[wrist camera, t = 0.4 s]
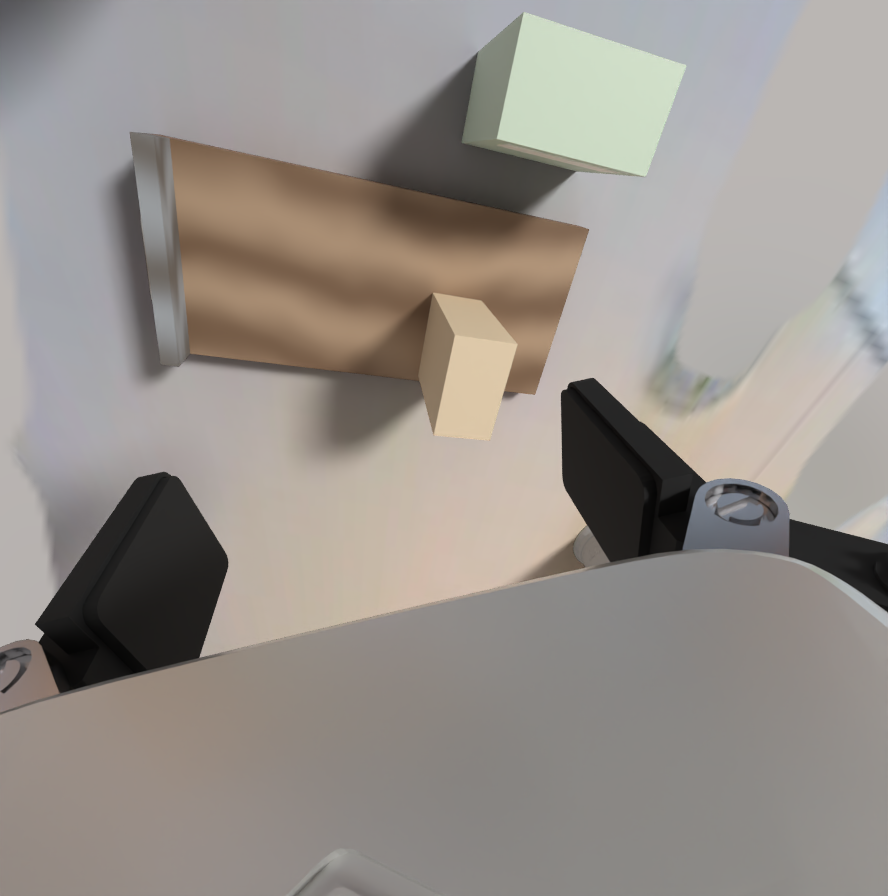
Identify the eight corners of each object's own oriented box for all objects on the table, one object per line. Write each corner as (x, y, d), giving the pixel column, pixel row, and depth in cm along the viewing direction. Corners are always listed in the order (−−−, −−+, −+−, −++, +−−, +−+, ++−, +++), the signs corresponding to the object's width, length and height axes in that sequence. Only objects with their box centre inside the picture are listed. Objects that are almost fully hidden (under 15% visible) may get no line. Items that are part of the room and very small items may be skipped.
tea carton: (478, 50, 29) (524, 10, 21) (601, 88, 32) (686, 64, 23) (461, 143, 32) (496, 140, 24) (576, 172, 34) (645, 177, 26)
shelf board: (156, 133, 29) (125, 131, 25) (578, 226, 36) (604, 234, 32) (178, 342, 36) (157, 364, 33) (528, 385, 43) (544, 407, 40)
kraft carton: (432, 292, 35) (455, 335, 27) (481, 300, 36) (517, 344, 28) (418, 375, 39) (433, 435, 31) (462, 380, 40) (489, 440, 32)
